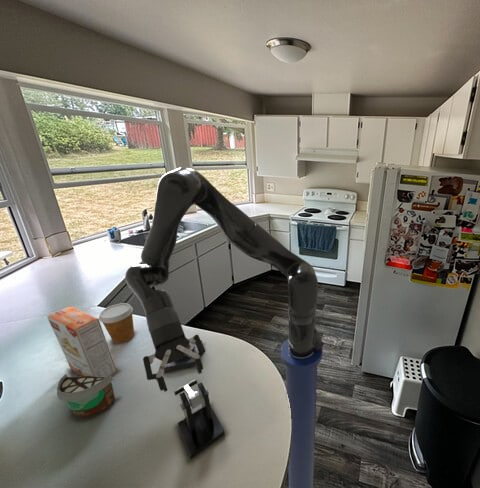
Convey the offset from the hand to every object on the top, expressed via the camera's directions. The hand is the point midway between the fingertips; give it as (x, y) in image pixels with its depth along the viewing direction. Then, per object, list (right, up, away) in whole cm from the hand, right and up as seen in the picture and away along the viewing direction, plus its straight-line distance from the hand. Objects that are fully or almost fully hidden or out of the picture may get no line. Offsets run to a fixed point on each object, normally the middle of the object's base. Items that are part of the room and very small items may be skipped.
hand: (183, 381), depth 68 cm
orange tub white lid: (-37, +3, +25) cm, 44 cm away
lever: (+5, -2, -5) cm, 7 cm away
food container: (-25, -8, -1) cm, 26 cm away
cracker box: (-35, -3, +11) cm, 36 cm away
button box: (-9, -1, +17) cm, 19 cm away
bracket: (+7, -10, -4) cm, 13 cm away
